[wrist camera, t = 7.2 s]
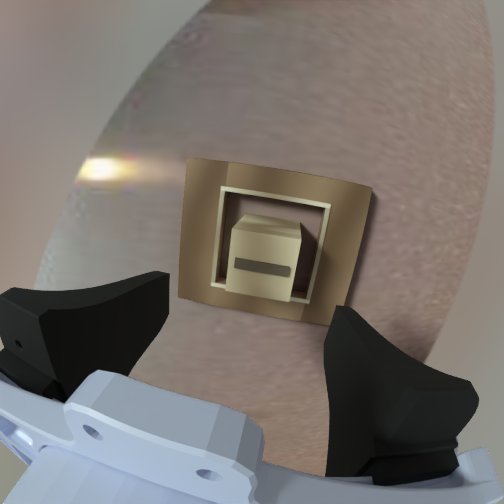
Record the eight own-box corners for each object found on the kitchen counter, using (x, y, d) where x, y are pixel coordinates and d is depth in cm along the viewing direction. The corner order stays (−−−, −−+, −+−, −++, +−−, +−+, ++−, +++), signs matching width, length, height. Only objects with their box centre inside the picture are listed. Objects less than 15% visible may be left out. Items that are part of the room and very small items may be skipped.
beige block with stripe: (299, 221, 21) (301, 240, 16) (290, 271, 22) (288, 303, 17) (246, 213, 21) (231, 229, 16) (239, 263, 22) (224, 292, 18)
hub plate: (368, 186, 19) (372, 188, 18) (335, 319, 23) (336, 327, 22) (193, 158, 20) (187, 158, 19) (183, 291, 24) (177, 297, 23)
